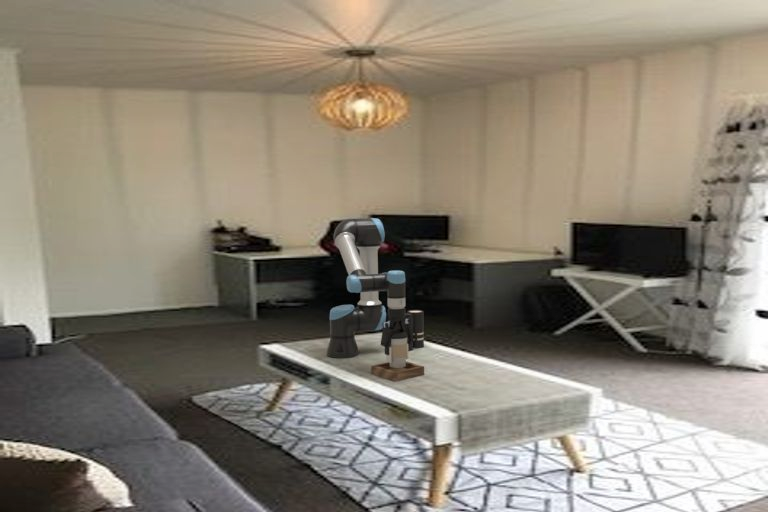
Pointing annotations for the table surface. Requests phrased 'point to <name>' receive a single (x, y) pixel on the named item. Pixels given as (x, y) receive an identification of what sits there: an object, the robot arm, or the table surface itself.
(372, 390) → the table surface
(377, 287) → the robot arm
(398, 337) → the coffee cup
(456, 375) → the table surface
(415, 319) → the light fixture
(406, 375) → the tray
